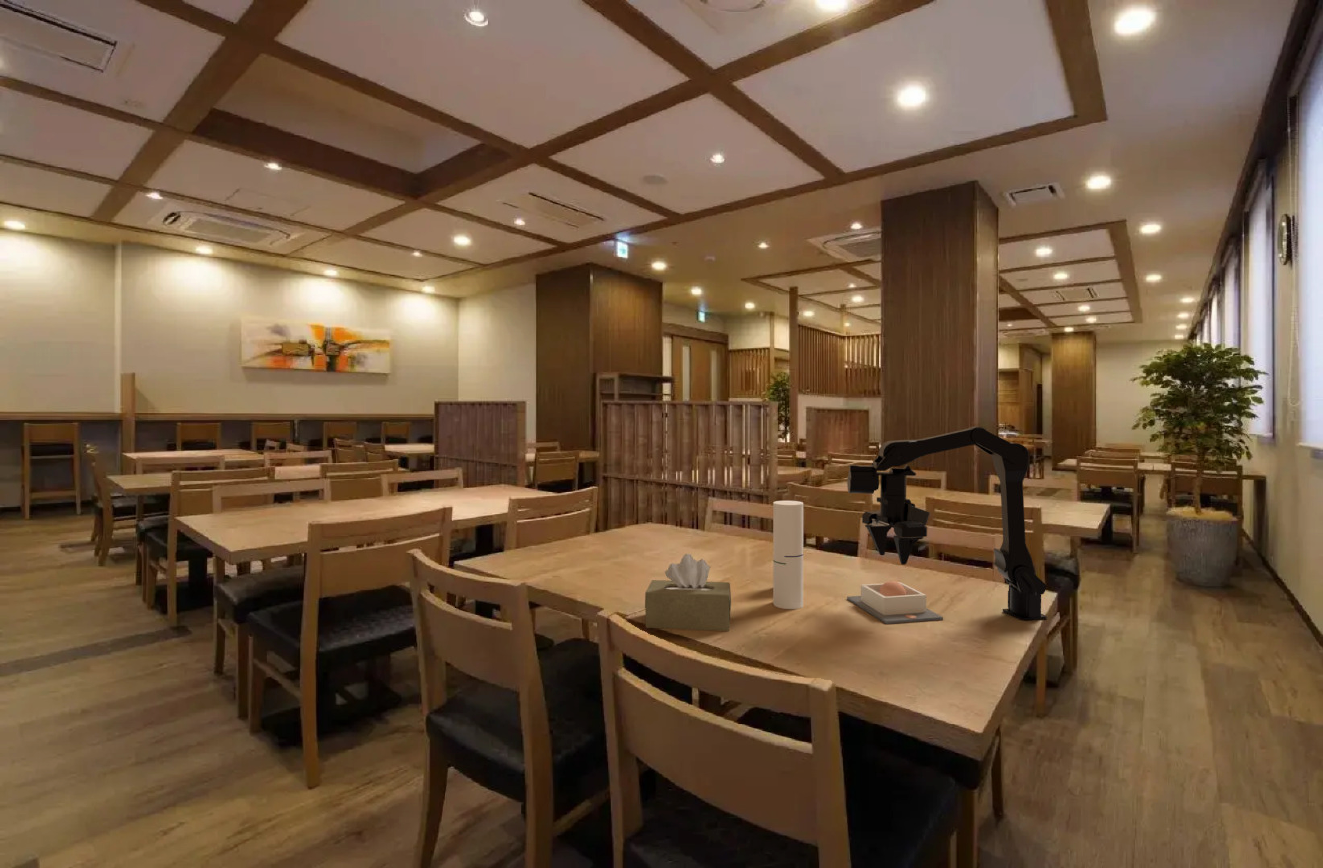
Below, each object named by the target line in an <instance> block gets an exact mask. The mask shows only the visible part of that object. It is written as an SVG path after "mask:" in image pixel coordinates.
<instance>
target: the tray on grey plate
mask: <svg viewBox="0 0 1323 868" xmlns="http://www.w3.org/2000/svg"><path fill="white" fill-rule="evenodd" d="M897 582H898V581H897ZM884 583H885V582H882V583H869V584H868V583H867V584H865V583H864V584H860V595H853V596H846V597H847V598H846V599H847V600H848V601H849V602H851V603H852V604H854V605H855V606H857V607H859V608H861V610H863V611H865V612H867V613H868V614H869V615H871V616H872V617H874V618H876V619H877V620H879V621H880V622H882V623H884V624H885V625H890V624H902V623H903V624H906V623H917V622H929V621H931V622H932V621H941V620H942V621H943V620H944V617H943V616H942V615H940V614H938V613H936V612H934V611H932V610H930V609H929V608H927V594H925V593H923V592H921V591H919V590H916V588H913V587H911V586H909V585H907V584H905V583H903V582H901V581H900V582H898V583H900V584H901V585H902V586H903V587H904V589H905V591H906V595H903V596H888V597H885V596H883V595H882V594H880V593H879V591H880V588H881V586H882V585H883V584H884Z"/></svg>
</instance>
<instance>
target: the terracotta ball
mask: <svg viewBox="0 0 1323 868" xmlns="http://www.w3.org/2000/svg"><path fill="white" fill-rule="evenodd" d="M883 583H884V584H883V585H882V586H881V588H880V591H879V593H880V594H882V595H883V596H885V597H888V596H903V595H906V591H905V589H904V587H903V586H902V585H901V584H900V583H898V581H895V580H894V581H893V580H888V581H886V582H883Z"/></svg>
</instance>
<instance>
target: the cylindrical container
mask: <svg viewBox="0 0 1323 868" xmlns="http://www.w3.org/2000/svg"><path fill="white" fill-rule="evenodd" d="M772 503H773V504H772V506H773V507H772V509H773V510H772V511H773V512H772V513H773V514H772V515H773V516H772V517H773V520H772V521H773V522H772V523H773V524H772V527H773V529H772V530H773V531H772V534H773V537H772V538H773V542H772V545H773V547H772V548H773V549H772V551H773V555H772V559H773V561H772V562H773V563H772V565H773V566H772V571H773V572H772V573H773V574H772V575H773V579H772V581H773V582H772V583H773V584H772V585H773V587H772V588H773V590H772V594H773V595H772V596H773V597H772V598H773V599H772V601H773V602H772V604H773V605H774V606H775V607H776V608H779V609H783V610H798V609H801V608H803V607H804V502H803V501H799V500H776V501H773V502H772Z"/></svg>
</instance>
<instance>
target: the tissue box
mask: <svg viewBox="0 0 1323 868" xmlns="http://www.w3.org/2000/svg"><path fill="white" fill-rule="evenodd" d="M710 569H711V566H710V565H709V564H708V563H707V562H706V560H705V559H704V558H701V559H699V560H696V559H694V557H693V556H692V554H690V553H685V554H684V555H683V557H681V559H680V562H679V563H673V562H672V563H670V564H669V566H668V569H666V570H665V571H664V573H665V577H666V578H667V579H669V580H661V579H660V580H659V579H658V580H657V579H652V580H651V582H650V584H649V585H648V587H647V589H646V591H645V592H644V593H645V594H644V609H645V628H646V629H648V628H649V629H670V630H689V631H690V630H692V631H693V630H694V631H697V630H698V631H713V632H714V631H719V632H729V631H730V623H731V622H730V621H731V610H732V609H731V608H732V593H731V592H732V591H731V583H730V582H726V581H725V582H724V581H708V577H709V574H710Z"/></svg>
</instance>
